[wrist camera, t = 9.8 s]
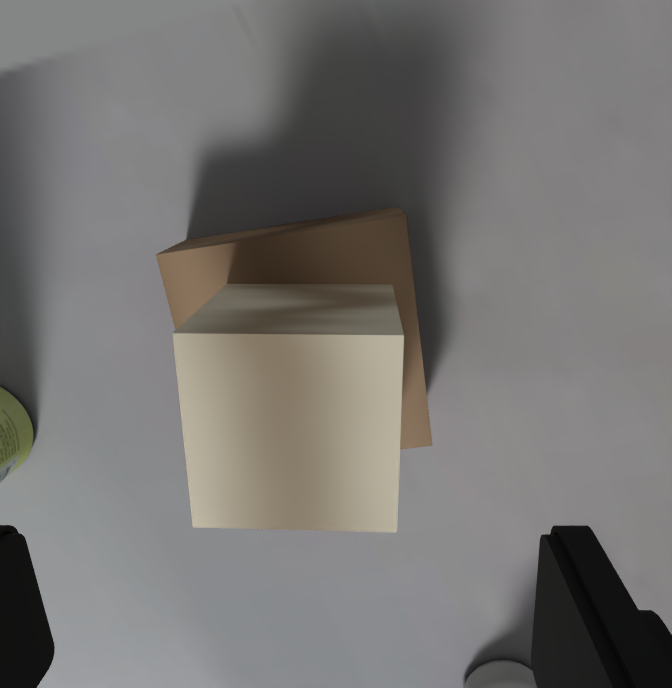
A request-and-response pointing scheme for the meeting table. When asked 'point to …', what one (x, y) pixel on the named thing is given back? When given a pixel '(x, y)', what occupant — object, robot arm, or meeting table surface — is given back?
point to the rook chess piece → (501, 675)
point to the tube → (13, 434)
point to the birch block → (293, 407)
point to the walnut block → (311, 279)
